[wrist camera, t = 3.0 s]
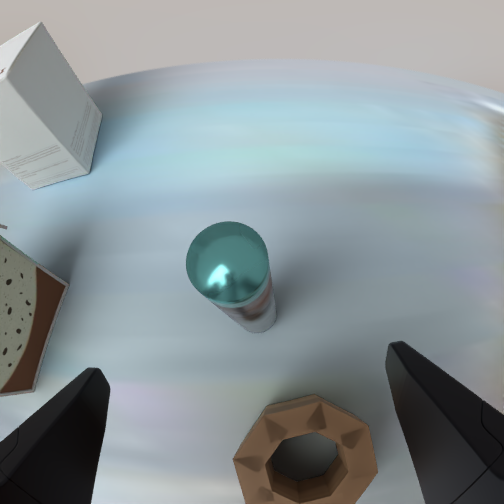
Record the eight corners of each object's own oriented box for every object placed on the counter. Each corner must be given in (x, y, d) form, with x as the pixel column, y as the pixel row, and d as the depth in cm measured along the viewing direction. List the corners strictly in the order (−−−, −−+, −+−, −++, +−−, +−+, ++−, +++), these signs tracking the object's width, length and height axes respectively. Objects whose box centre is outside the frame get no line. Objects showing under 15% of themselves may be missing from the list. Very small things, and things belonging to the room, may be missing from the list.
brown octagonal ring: (380, 427, 17) (399, 439, 13) (318, 513, 15) (324, 539, 12) (284, 377, 18) (285, 381, 15) (224, 466, 17) (212, 486, 13)
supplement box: (104, 113, 27) (44, 17, 15) (90, 176, 25) (4, 77, 13) (47, 132, 28) (-17, 54, 16) (30, 192, 25) (-56, 117, 13)
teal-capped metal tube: (283, 306, 20) (283, 245, 9) (263, 340, 19) (239, 317, 9) (250, 287, 20) (215, 208, 10) (229, 320, 20) (170, 274, 9)
